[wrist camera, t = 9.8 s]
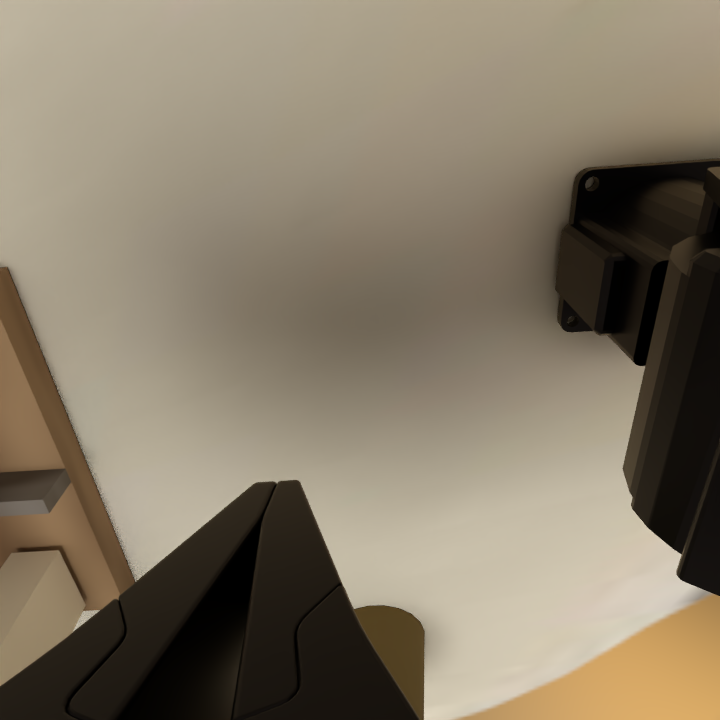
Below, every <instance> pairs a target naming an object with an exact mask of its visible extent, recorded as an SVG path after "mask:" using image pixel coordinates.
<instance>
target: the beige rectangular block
mask: <svg viewBox="0 0 720 720" xmlns="http://www.w3.org/2000/svg"><path fill="white" fill-rule="evenodd" d="M85 606H86V605H85V603H84V600H83V598H82V596H81V594H80V592H79V590H78V588H77V586H76V584H75V582H74V580H73V578H72V576H71V574H70V572H69V570H68V568H67V566H66V564H65V562H64V560H63V558H62V555H61V553H60V551H59V550H54V551H36V552H19V553H11V554H10V556H9V557H8V559H7V560H6V561H5V563H4V564H3V566H2V567H1V568H0V686H1V685H2V684H4V683H5V682H7V681H8V680H9V679H11V678H12V677H14V676H15V675H16V674H18V673H19V672H21V671H22V670H23V669H25V668H26V667H27V666H29V665H30V664H31V663H33V662H34V661H36V660H37V659H38V658H40V657H41V656H42V655H44V654H45V653H46V652H48V651H49V650H50V649H52V648H53V647H54V646H56V645H57V644H58V643H60V642H61V641H62V640H64V639H65V638H66V637H68V636H69V635H70V634H71V633H72V632H73V630H74V628H75V626H76V624H77V622H78V620H79V618H80V616H81V614H82V612H83V610H84V608H85Z"/></svg>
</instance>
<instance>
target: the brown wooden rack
mask: <svg viewBox="0 0 720 720" xmlns="http://www.w3.org/2000/svg"><path fill="white" fill-rule="evenodd" d="M54 550H59V551H60V553H61V555H62V558H63V560H64V562H65V564H66V566H67V568H68V570H69V572H70V574H71V576H72V578H73V580H74V582H75V584H76V586H77V588H78V590H79V592H80V594H81V596H82V598H83V600H84V603H85V605H86V606H85V608H84V610H83V611H87V610H101V609H102V608H104V607H105V606H106V605H107V604H109V603H110V602H111V601H112V600H113V599H118V597H119V595H121V594H122V593H123V592H124V591H125V590H127V589H128V588H129V587H130V586H131V585H133V584H134V583H135V581H134V579H133V576H132V574H131V571H130V569H129V566H128V564H127V561H126V559H125V556H124V554H123V551H122V549H121V547H120V544H119V542H118V539H117V537H116V534H115V532H114V529H113V527H112V524H111V522H110V520H109V517H108V515H107V512H106V510H105V507H104V505H103V502H102V500H101V497H100V495H99V493H98V490H97V488H96V485H95V483H94V480H93V478H92V475H91V473H90V470H89V468H88V465H87V463H86V461H85V458H84V456H83V453H82V451H81V448H80V446H79V443H78V441H77V438H76V436H75V434H74V431H73V429H72V426H71V424H70V421H69V419H68V416H67V414H66V411H65V409H64V406H63V404H62V402H61V399H60V397H59V394H58V392H57V389H56V387H55V384H54V382H53V379H52V377H51V375H50V372H49V370H48V367H47V365H46V362H45V360H44V357H43V355H42V352H41V350H40V347H39V345H38V343H37V340H36V338H35V335H34V333H33V330H32V328H31V325H30V323H29V320H28V318H27V316H26V313H25V311H24V308H23V306H22V303H21V301H20V298H19V296H18V293H17V291H16V288H15V286H14V284H13V281H12V279H11V276H10V274H9V271H8V269H7V267H5V268H0V568H1V567H2V566H3V564H4V563H5V561H6V560H7V559H8V557H9V556H10V554H11V553H19V552H36V551H54ZM118 601H119V600H118Z"/></svg>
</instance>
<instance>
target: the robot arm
mask: <svg viewBox="0 0 720 720" xmlns="http://www.w3.org/2000/svg"><path fill="white" fill-rule="evenodd" d="M590 177H594V178H595V183H594V185H593V186H592V187H591V188H589V189H586V188H585V183H586V181H587V180H588V179H589V178H590ZM555 289H556V291H557V292H558V293H559V294H560V302H559V310H558V323H559V325H560V326H561V327H562V329H563V330H565V331H567V332H582V331H594V332H595V333H596V334H597V335H608V336H609V337H610V338H611V339H612V340H613V341H614V342H615V343H616V344H617V345H618V346H619V348H620V349H621V350H622V351H623V352H624V353H625V354H626V355H627V356H628V357H629V358H630V359H631V360H632V361H633V362H634V363H635V364H636V365H639V366H645V371H644V375H643V380H642V384H641V389H640V393H639V398H638V402H637V407H636V411H635V416H634V420H633V425H632V429H631V434H630V438H629V443H628V447H627V452H626V456H625V461H624V465H623V472H624V475H625V478H626V482H627V485H628V488H629V492H630V493H631V495H632V497H633V499H632V503H631V506H632V509H633V510H634V511H635V513H636V514H637V515H638V516H639V518H640V519H641V520H642V521H643V522H644V524H645V525H646V526H647V527H648V528H649V529H650V530H651V531H652V532H654V533H655V534H656V535H657V536H658V537H660V538H661V539H662V540H663V541H664V542H666V543H667V544H668V545H669V546H670V547H672V548H673V549H674V550H676V551H677V552H679V553H680V554H682V556H681V559H680V562H679V565H678V568H677V571H676V572H677V576H678V577H679V578H680V579H681V580H682V581H684V582H686V583H689V584H691V585H694V586H696V587H699V588H701V589H704V590H706V591H709V592H711V593H713V594H716V595H718V596H720V158H719V159H705V160H691V161H677V162H663V163H649V164H636V165H622V166H608V167H594V168H587V169H584V170H583V171H581V172H580V173H579V174H578V175H577V177H576V179H575V182H574V189H573V197H572V205H571V213H570V221H569V225H567V226H566V227H565V228H564V229H563V231H562V236H561V244H560V253H559V261H558V269H557V278H556V286H555ZM571 316H576V317H575V320H574V321H572V322H570V323H567V320H568V318H569V317H571ZM118 600H119V601H118ZM0 720H421V719H420V718H419V716H418V715H417V713H416V712H415V710H414V708H413V707H412V705H411V704H410V702H409V701H408V699H407V698H406V696H405V694H404V693H403V691H402V690H401V688H400V687H399V685H398V684H397V682H396V681H395V679H394V677H393V676H392V674H391V673H390V671H389V670H388V668H387V667H386V665H385V663H384V662H383V660H382V659H381V657H380V656H379V654H378V653H377V651H376V649H375V648H374V646H373V644H372V643H371V641H370V639H369V637H368V636H367V634H366V632H365V631H364V629H363V627H362V625H361V623H360V621H359V619H358V617H357V615H356V613H355V611H354V609H353V607H352V604H351V602H350V600H349V598H348V595H347V593H346V590H345V588H344V587H343V584H342V582H341V580H340V577H339V575H338V572H337V570H336V568H335V565H334V563H333V560H332V558H331V556H330V553H329V551H328V548H327V546H326V544H325V541H324V539H323V536H322V534H321V532H320V529H319V527H318V524H317V522H316V519H315V517H314V515H313V512H312V510H311V507H310V505H309V503H308V500H307V498H306V495H305V493H304V491H303V488H302V486H301V483H300V482H299V481H298V480H288V481H279V482H278V483H276V482H273V481H272V482H257V483H255V484H253V485H252V486H251V487H249V488H248V489H247V490H246V491H245V492H243V493H242V494H241V495H240V496H239V497H237V498H236V499H235V500H234V501H233V502H231V503H230V504H229V505H228V506H227V507H225V508H224V509H223V510H222V511H221V512H219V513H218V514H217V515H216V516H215V517H213V518H212V519H211V520H210V521H209V522H207V523H206V524H205V525H204V526H203V527H201V528H200V529H199V530H198V531H196V532H195V533H194V534H193V535H192V536H190V537H189V538H188V539H187V540H186V541H184V542H183V543H182V544H181V545H180V546H178V547H177V548H176V549H175V550H174V551H172V552H171V553H170V554H169V555H168V556H166V557H165V558H164V559H163V560H162V561H160V562H159V563H158V564H157V565H156V566H154V567H153V568H152V569H151V570H149V571H148V572H147V573H146V574H145V575H143V576H142V577H141V578H140V579H139V580H137V581H136V582H135V583H134V584H133V585H131V586H130V587H129V588H128V589H127V590H125V591H124V592H123V593H122V594H121V595H119V597H118V599H113V600H112V601H111V602H110V603H109V604H107V605H106V606H105V607H104V608H102V609H101V610H100V611H99V612H98V613H96V614H95V615H94V616H93V617H91V618H90V619H89V620H88V621H86V622H85V623H84V624H83V625H81V626H80V627H79V628H78V629H76V630H75V631H74V632H73V633H71V634H70V635H69V636H68V637H66V638H65V639H64V640H62V641H61V642H60V643H58V644H57V645H56V646H54V647H53V648H52V649H50V650H49V651H48V652H46V653H45V654H44V655H42V656H41V657H40V658H38V659H37V660H36V661H34V662H33V663H31V664H30V665H29V666H27V667H26V668H25V669H23V670H22V671H21V672H19V673H18V674H16V675H15V676H14V677H12V678H11V679H9V680H8V681H7V682H5V683H4V684H2V685H1V686H0Z"/></svg>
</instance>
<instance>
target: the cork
mask: <svg viewBox="0 0 720 720" xmlns="http://www.w3.org/2000/svg"><path fill="white" fill-rule="evenodd" d="M354 611H355V613H356V615H357V617H358V619H359V621H360V623H361V625H362V627H363V629H364V631H365V632H366V634H367V636H368V637H369V639H370V641H371V643H372V644H373V646H374V648H375V649H376V651H377V653H378V654H379V656H380V657H381V659H382V660H383V662H384V663H385V665H386V667H387V668H388V670H389V671H390V673H391V674H392V676H393V677H394V679H395V681H396V682H397V684H398V685H399V687H400V688H401V690H402V691H403V693H404V694H405V696H406V698H407V699H408V701H409V702H410V704H411V705H412V707H413V708H414V710H415V712H416V713H417V715H418V716H419V718H420V719H421V720H424V629H423V627H422V625H421V623H420V621H419V620H417V619H416V618H415V617H414V616H413V615H412V614H410V613H408V612H406V611H403V610H401V609H399V608H394V607H388V606H366V607H362V608H358V609H354Z"/></svg>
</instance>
